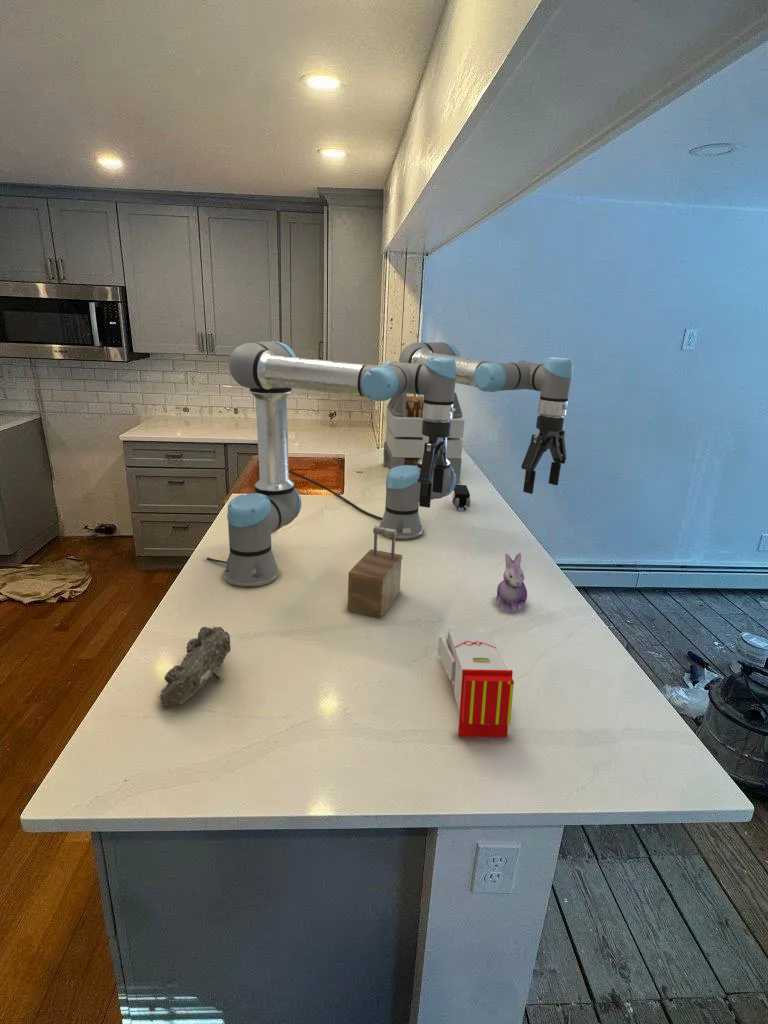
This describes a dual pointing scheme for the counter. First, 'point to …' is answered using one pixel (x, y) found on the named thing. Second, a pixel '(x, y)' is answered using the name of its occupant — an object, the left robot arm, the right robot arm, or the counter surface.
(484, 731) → the toy
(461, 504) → the figurine character
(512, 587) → the figurine
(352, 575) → the lid
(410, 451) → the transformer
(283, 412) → the left robot arm
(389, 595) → the chest
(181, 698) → the fossil
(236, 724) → the counter surface
